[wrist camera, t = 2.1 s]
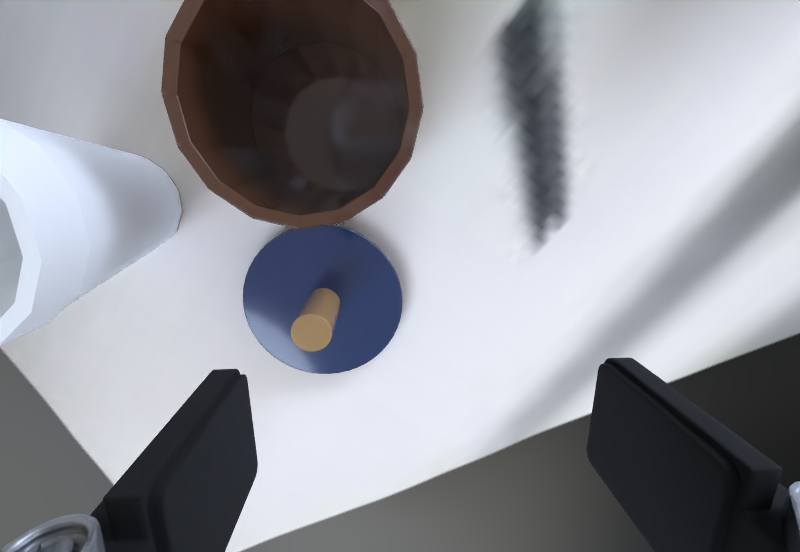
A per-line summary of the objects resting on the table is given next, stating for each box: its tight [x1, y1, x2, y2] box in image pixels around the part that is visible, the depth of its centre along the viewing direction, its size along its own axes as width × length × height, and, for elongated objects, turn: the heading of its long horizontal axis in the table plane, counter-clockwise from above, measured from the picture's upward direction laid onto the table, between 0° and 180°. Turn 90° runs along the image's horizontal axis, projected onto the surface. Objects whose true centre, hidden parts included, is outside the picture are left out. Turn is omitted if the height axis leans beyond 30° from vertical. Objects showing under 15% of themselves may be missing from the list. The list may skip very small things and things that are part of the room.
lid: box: [243, 224, 402, 374], centre depth 25 cm, size 11×11×6 cm
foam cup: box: [0, 119, 182, 346], centre depth 19 cm, size 10×9×13 cm
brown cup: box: [161, 0, 423, 229], centre depth 20 cm, size 10×10×10 cm
